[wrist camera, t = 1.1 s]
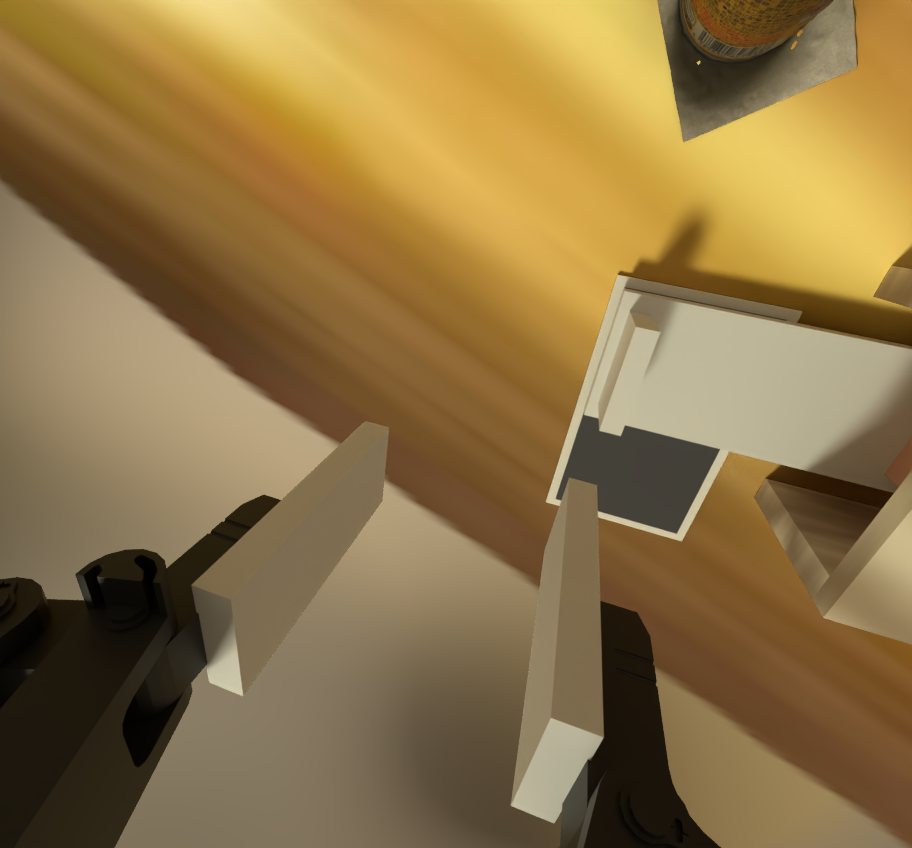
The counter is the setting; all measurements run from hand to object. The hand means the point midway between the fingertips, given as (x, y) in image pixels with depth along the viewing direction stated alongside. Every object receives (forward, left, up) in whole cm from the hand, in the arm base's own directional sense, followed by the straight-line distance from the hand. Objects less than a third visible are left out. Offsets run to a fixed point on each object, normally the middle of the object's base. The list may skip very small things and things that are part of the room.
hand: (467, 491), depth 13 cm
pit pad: (+4, +9, -19) cm, 21 cm away
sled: (0, +17, -18) cm, 25 cm away
